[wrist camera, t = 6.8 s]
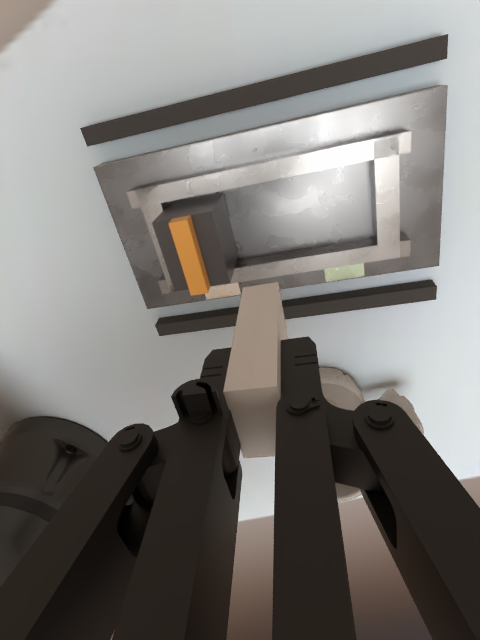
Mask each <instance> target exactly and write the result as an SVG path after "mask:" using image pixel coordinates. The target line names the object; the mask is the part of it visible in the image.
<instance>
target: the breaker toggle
mask: <svg viewBox="0 0 480 640" xmlns="http://www.w3.org/2000/svg"><path fill="white" fill-rule="evenodd" d="M152 225H153V228H154V231H155V234H156V237H157V240H158V243H159V246H160V249H161V252H162V255H163V258H164V261H165V264H166V267H167V270H168V273H169V276H170V279H171V282H172V285H173V288H174V290H175V292H178V291H184V290H189V291H190V294H191V296H192V295H199V294H205V293H208V292H209V289H210V287H211V286H217V285H223V284H230V283H231V279H232V275H233V272H234V268H235V265H236V261H237V257H238V254H237V250H236V245H235V241H234V237H233V232H232V228H231V224H230V219H229V215H228V211H227V206H226V202H225V198H224V193H223V192H221V193H216V194H211V195H206V196H201V197H196V198H191V199H186V200H181V201H176V202H172V203H171V204H170V205H169V206H168V207H167V208H166V209H165V210H164V211H163V212H162V213H161V214H160V215H159V216H158V217H157V218H156V219H155V220H154V221H153V222H152Z"/></svg>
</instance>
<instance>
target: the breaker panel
mask: <svg viewBox="0 0 480 640" xmlns="http://www.w3.org/2000/svg"><path fill="white" fill-rule="evenodd" d="M446 106H447V85H439V86H434V87H430V88H426V89H422V90H417V91H413V92H409V93H404V94H400V95H396V96H391V97H387V98H383V99H379V100H374V101H370V102H366V103H361V104H357V105H353V106H348V107H344V108H340V109H336V110H331V111H327V112H323V113H318V114H314V115H310V116H306V117H301V118H297V119H293V120H288V121H284V122H280V123H275V124H271V125H267V126H263V127H258V128H254V129H250V130H245V131H241V132H237V133H232V134H228V135H224V136H220V137H215V138H211V139H207V140H202V141H198V142H194V143H189V144H185V145H181V146H177V147H172V148H168V149H164V150H159V151H155V152H151V153H146V154H142V155H138V156H134V157H129V158H125V159H121V160H116V161H112V162H108V163H103V164H100V165H98V166H96V167H93V168H94V171H95V173H96V176H97V178H98V181H99V184H100V186H101V189H102V191H103V194H104V197H105V199H106V202H107V205H108V207H109V210H110V212H111V215H112V218H113V220H114V223H115V225H116V228H117V231H118V233H119V236H120V238H121V241H122V244H123V246H124V249H125V251H126V254H127V257H128V259H129V262H130V265H131V267H132V270H133V272H134V275H135V278H136V280H137V283H138V285H139V288H140V291H141V293H142V296H143V298H144V301H145V304H146V306H147V309H150V308H157V307H164V306H170V305H177V304H184V303H191V302H197V301H204V300H211V299H218V298H224V297H231V296H238V295H242V290H243V287H250V286H256V285H262V284H269V283H275V282H278V285H279V289H285V288H292V287H299V286H306V285H312V284H319V283H326V282H333V281H339V280H346V279H353V278H360V277H366V276H373V275H380V274H387V273H394V272H400V271H407V270H414V269H421V268H427V267H434V266H439V256H440V234H441V213H442V192H443V170H444V149H445V128H446ZM221 192H223V193H224V198H225V202H226V206H227V211H228V215H229V219H230V224H231V228H232V232H233V237H234V241H235V245H236V250H237V254H238V257H237V261H236V265H235V268H234V272H233V275H232V279H231V283H230V284H223V285H217V286H211V287H210V289H209V292H208V293H205V294H199V295H192V296H191V294H190V291H189V290H184V291H178V292H175V290H174V288H173V285H172V282H171V279H170V276H169V273H168V270H167V267H166V264H165V261H164V258H163V255H162V252H161V249H160V246H159V243H158V240H157V237H156V234H155V231H154V228H153V225H152V222H153V221H154V220H155V219H156V218H157V217H158V216H159V215H160V214H161V213H162V212H163V211H164V210H165V209H166V208H167V207H168V206H169V205H170V204H171V203H172V202H176V201H181V200H186V199H191V198H196V197H201V196H206V195H211V194H216V193H221Z"/></svg>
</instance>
